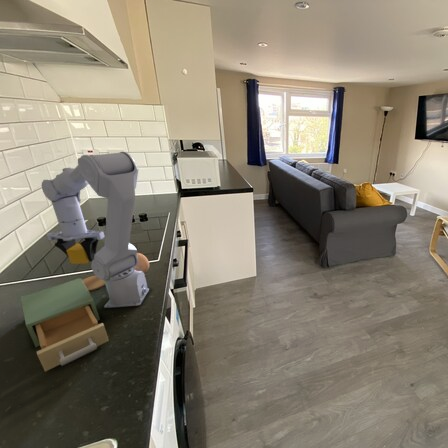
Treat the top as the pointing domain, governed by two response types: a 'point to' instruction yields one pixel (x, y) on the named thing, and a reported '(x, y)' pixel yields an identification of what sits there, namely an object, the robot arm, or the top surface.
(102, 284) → the coaster
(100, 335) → the drawer
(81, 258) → the orange block
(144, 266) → the egg
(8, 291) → the top surface
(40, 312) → the cabinet
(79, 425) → the top surface
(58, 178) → the robot arm
